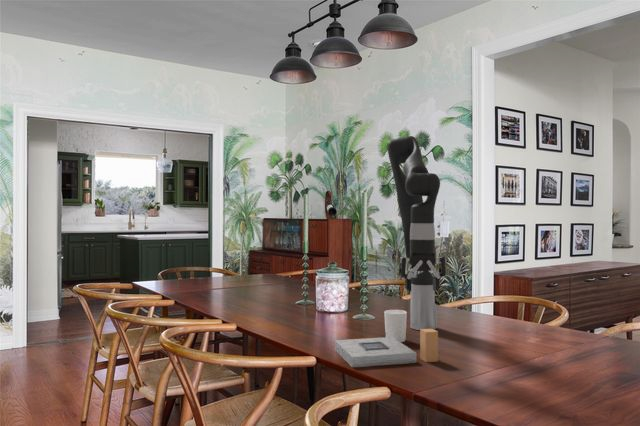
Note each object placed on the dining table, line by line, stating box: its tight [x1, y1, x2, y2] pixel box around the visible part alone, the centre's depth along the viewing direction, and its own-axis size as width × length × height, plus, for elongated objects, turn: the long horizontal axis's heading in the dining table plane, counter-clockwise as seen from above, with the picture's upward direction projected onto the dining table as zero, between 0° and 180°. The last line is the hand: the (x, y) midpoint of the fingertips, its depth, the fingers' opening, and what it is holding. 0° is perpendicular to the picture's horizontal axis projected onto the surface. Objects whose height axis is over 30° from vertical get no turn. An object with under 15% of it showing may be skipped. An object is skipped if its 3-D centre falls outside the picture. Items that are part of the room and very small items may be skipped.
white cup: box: [383, 309, 408, 343], centre depth 179 cm, size 8×8×10 cm
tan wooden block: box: [419, 329, 439, 363], centre depth 155 cm, size 4×4×9 cm
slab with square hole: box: [334, 336, 417, 368], centre depth 159 cm, size 20×20×3 cm
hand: (422, 290), depth 156 cm, fingers open, 8 cm apart
